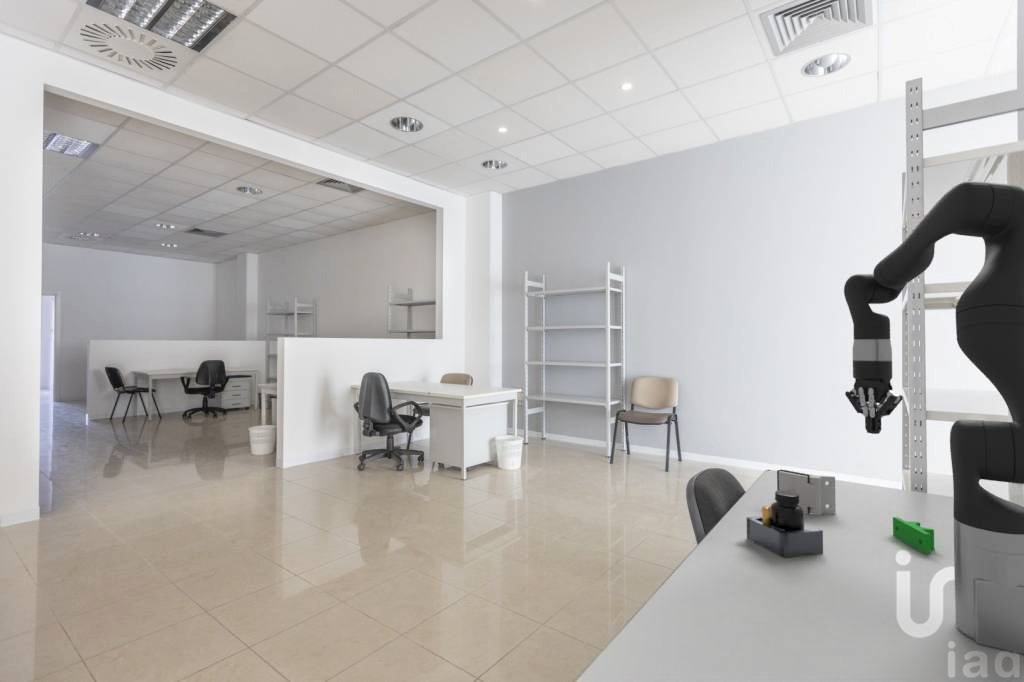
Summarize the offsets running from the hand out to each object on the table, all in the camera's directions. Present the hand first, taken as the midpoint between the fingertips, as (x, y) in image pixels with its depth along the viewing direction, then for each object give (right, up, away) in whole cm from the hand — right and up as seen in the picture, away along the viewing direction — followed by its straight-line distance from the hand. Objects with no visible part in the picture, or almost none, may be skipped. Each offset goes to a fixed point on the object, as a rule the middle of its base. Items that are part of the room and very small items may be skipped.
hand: (873, 433), depth 117 cm
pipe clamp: (+8, -25, -3) cm, 27 cm away
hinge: (-3, -26, +22) cm, 34 cm away
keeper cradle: (-23, -25, -3) cm, 34 cm away
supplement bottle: (-22, -25, -3) cm, 33 cm away
